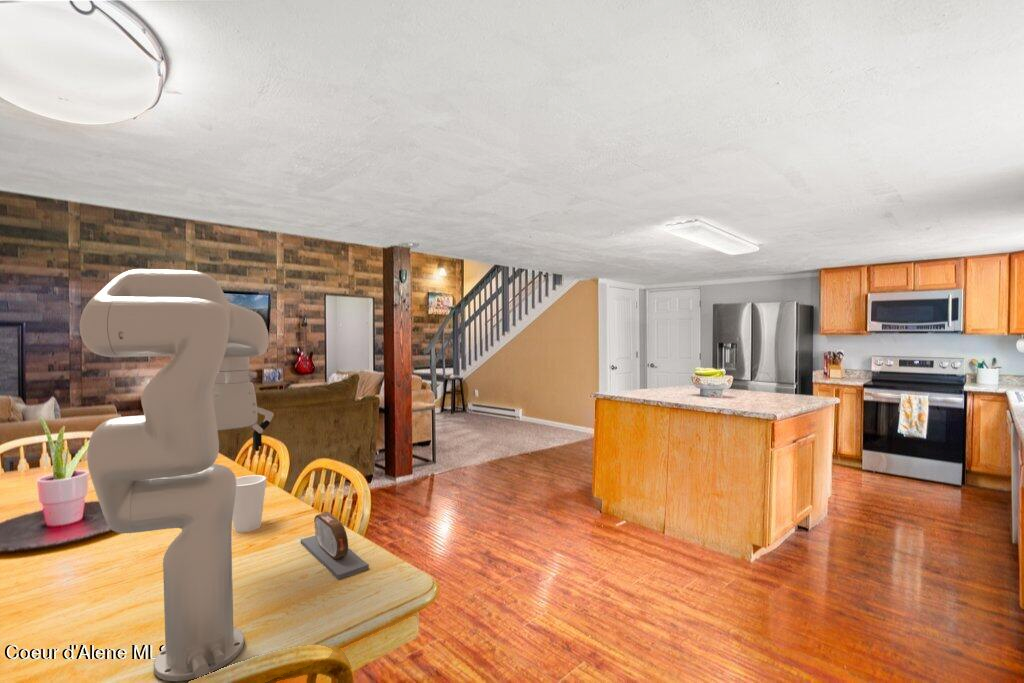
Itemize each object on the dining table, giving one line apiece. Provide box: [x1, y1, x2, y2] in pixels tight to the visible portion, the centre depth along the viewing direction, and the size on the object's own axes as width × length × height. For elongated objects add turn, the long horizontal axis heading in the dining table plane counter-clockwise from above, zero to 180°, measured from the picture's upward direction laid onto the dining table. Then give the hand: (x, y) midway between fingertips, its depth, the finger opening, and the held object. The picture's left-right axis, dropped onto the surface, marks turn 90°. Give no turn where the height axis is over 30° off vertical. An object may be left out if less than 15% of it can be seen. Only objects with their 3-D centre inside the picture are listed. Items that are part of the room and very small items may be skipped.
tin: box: [313, 510, 349, 559], centre depth 116 cm, size 15×3×8 cm, turn 41°
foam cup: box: [232, 474, 267, 533], centre depth 133 cm, size 10×9×13 cm
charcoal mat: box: [300, 535, 370, 580], centre depth 117 cm, size 24×7×1 cm, turn 41°
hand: (232, 453), depth 111 cm, fingers open, 9 cm apart
